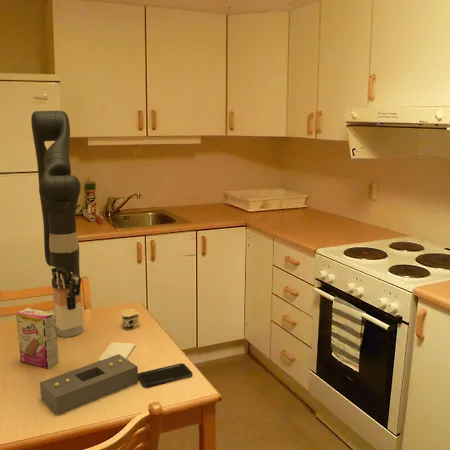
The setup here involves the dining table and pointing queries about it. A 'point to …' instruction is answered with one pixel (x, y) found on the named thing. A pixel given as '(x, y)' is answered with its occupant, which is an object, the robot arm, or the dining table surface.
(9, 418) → the dining table surface
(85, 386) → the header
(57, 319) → the plug
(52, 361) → the candy bar box
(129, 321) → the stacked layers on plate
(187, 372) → the phone
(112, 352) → the external hard drive
